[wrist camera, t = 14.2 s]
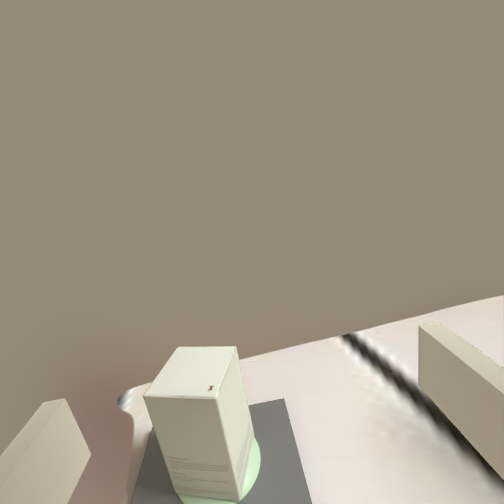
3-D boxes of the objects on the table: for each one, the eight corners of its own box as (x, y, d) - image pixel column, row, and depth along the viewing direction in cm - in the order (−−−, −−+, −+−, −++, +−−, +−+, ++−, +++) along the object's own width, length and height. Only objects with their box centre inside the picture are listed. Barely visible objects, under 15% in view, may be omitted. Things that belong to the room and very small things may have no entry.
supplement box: (256, 434, 33) (239, 344, 30) (240, 504, 26) (216, 399, 23) (200, 429, 35) (177, 344, 32) (172, 494, 28) (139, 395, 25)
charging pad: (284, 405, 38) (283, 397, 38) (317, 528, 25) (316, 518, 25) (155, 431, 37) (153, 423, 37) (116, 574, 24) (112, 564, 24)
